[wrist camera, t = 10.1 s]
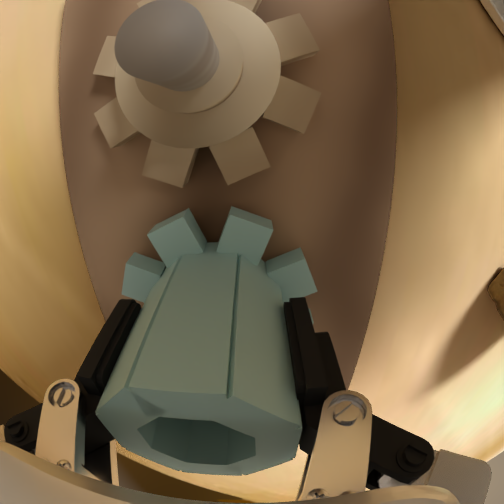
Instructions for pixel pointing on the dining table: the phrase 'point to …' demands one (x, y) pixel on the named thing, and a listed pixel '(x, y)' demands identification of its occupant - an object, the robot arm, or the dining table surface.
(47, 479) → the robot arm
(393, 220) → the dining table surface
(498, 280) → the rock
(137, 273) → the loose cog
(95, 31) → the gear board
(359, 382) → the dining table surface
